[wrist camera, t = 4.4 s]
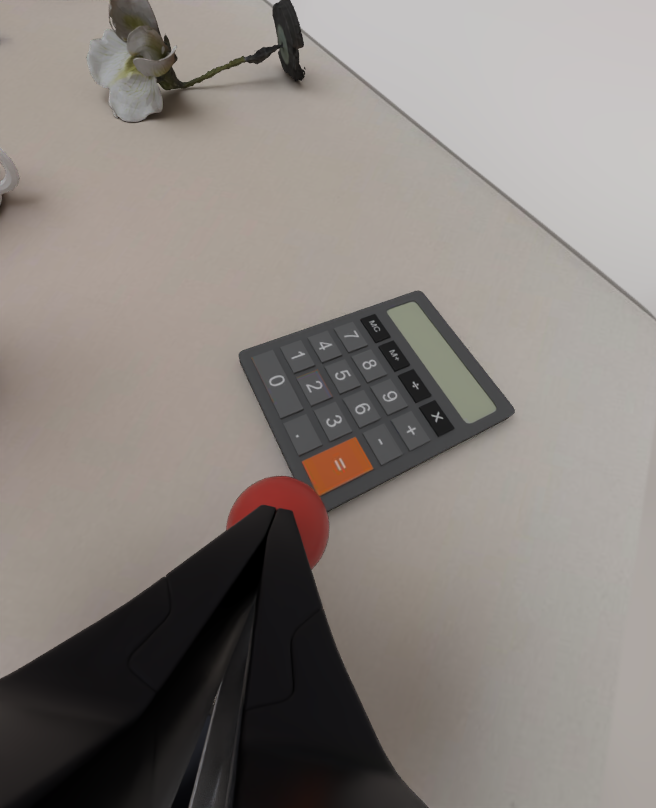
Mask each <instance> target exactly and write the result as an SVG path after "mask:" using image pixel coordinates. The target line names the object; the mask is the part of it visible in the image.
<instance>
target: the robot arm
mask: <svg viewBox="0 0 656 808" xmlns="http://www.w3.org/2000/svg"><path fill="white" fill-rule="evenodd" d="M257 590H258V591H257ZM256 594H257V597H256ZM255 597H256V603H255V609H254V616H253V622H252V629H251V636H250V642H249V649H248V656H247V662H246V669H245V676H244V682H243V689H242V696H241V703H240V709H239V716H238V723H237V729H236V736H235V743H234V749H233V756H232V763H231V769H230V776H229V783H228V790H227V796H226V803H225V808H428V807H427V805H426V804H425V803H424V802H423V801H422V800H421V799H420V798H419V797H418V796H417V795H416V794H415V793H414V792H413V791H412V790H411V789H410V788H409V787H408V786H407V785H406V783H405V782H404V781H403V780H402V779H401V777H400V776H399V775H398V773H397V772H396V771H395V769H394V767H393V766H392V764H391V763H390V761H389V760H388V758H387V756H386V754H385V752H384V751H383V749H382V747H381V744H380V742H379V740H378V738H377V736H376V734H375V732H374V730H373V727H372V725H371V723H370V721H369V719H368V716H367V714H366V712H365V710H364V708H363V706H362V703H361V701H360V699H359V697H358V695H357V692H356V690H355V688H354V686H353V684H352V682H351V679H350V677H349V675H348V673H347V671H346V668H345V666H344V663H343V661H342V659H341V656H340V654H339V652H338V649H337V647H336V644H335V642H334V639H333V636H332V633H331V630H330V627H329V624H328V621H327V618H326V615H325V612H324V609H323V606H322V603H321V599H320V596H319V593H318V590H317V587H316V583H315V580H314V577H313V574H312V571H311V567H310V564H309V561H308V558H307V555H306V551H305V548H304V545H303V542H302V539H301V535H300V532H299V529H298V526H297V523H296V519H295V516H294V513H293V511H292V510H288V509H283V508H278V509H276V507H273V506H269V505H260V506H259V507H258V508H256V509H255V510H254V511H252V512H251V513H249V514H248V515H247V516H245V517H244V518H243V519H241V520H240V521H239V522H237V523H236V524H235V525H233V526H232V527H230V528H229V529H228V530H226V531H225V532H224V533H222V534H221V535H220V536H218V537H217V538H216V539H214V540H213V541H211V542H210V543H209V544H207V545H206V546H205V547H203V548H202V549H201V550H199V551H198V552H197V553H195V554H194V555H192V556H191V557H190V558H188V559H187V560H186V561H184V562H183V563H182V564H180V565H179V566H178V567H176V568H175V569H173V570H172V571H171V572H169V573H168V574H167V575H166V577H162V578H161V579H160V580H158V581H157V582H156V583H154V584H153V585H152V586H150V587H149V588H147V589H146V590H144V591H143V592H142V593H140V594H139V595H137V596H136V597H134V598H133V599H132V600H130V601H129V602H127V603H126V604H124V605H123V606H121V607H119V608H118V609H116V610H115V611H113V612H112V613H110V614H108V615H107V616H105V617H104V618H102V619H101V620H99V621H97V622H96V623H94V624H92V625H91V626H89V627H87V628H86V629H84V630H82V631H81V632H79V633H78V634H76V635H74V636H73V637H71V638H69V639H68V640H66V641H64V642H63V643H61V644H59V645H58V646H56V647H54V648H53V649H51V650H50V651H48V652H46V653H45V654H43V655H41V656H40V657H38V658H36V659H35V660H33V661H31V662H30V663H28V664H26V665H25V666H23V667H21V668H19V669H18V670H16V671H14V672H12V673H11V674H9V675H7V676H5V677H3V678H1V679H0V808H171V806H172V803H173V801H174V798H175V796H176V793H177V791H178V788H179V786H180V783H181V781H182V778H183V776H184V774H185V771H186V769H187V766H188V764H189V761H190V759H191V756H192V754H193V751H194V749H195V746H196V744H197V741H198V739H199V736H200V734H201V731H202V729H203V726H204V724H205V721H206V719H207V716H208V714H209V712H210V709H211V707H212V704H213V702H214V699H215V697H216V694H217V692H218V689H219V687H220V684H221V682H222V679H223V677H224V674H225V672H226V669H227V667H228V664H229V662H230V659H231V657H232V654H233V652H234V650H235V647H236V645H237V642H238V640H239V637H240V635H241V632H242V630H243V627H244V625H245V622H246V620H247V617H248V615H249V612H250V610H251V607H252V605H253V602H254V599H255Z"/></svg>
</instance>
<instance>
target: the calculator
mask: <svg viewBox="0 0 656 808" xmlns="http://www.w3.org/2000/svg"><path fill="white" fill-rule="evenodd" d="M239 359H240V363H241V366H242V368H243V370H244V372H245V374H246V376H247V379H248V381H249V383H250V385H251V387H252V389H253V391H254V394H255V396H256V398H257V400H258V402H259V404H260V406H261V409H262V411H263V413H264V415H265V417H266V419H267V421H268V424H269V426H270V428H271V430H272V432H273V434H274V436H275V439H276V441H277V443H278V445H279V447H280V449H281V451H282V454H283V456H284V458H285V460H286V462H287V464H288V466H289V469H290V471H291V473H292V475H293V477H294V478H296V479H298V480H301V481H303V482H304V483H306V484H308V485H309V486H310V487H312V488H313V489H314V490H315V491H316V492H317V494H318V495H319V496H320V498H321V499H322V501H323V503H324V505H325V507H326V510H327V512H328V511H330V510H332V509H334V508H336V507H338V506H340V505H342V504H344V503H346V502H348V501H349V500H351V499H353V498H355V497H357V496H359V495H361V494H363V493H365V492H367V491H369V490H371V489H373V488H375V487H376V486H378V485H380V484H382V483H384V482H386V481H388V480H390V479H392V478H394V477H396V476H398V475H400V474H402V473H403V472H405V471H407V470H409V469H411V468H413V467H415V466H417V465H419V464H421V463H423V462H425V461H427V460H429V459H430V458H432V457H434V456H436V455H438V454H440V453H442V452H444V451H446V450H448V449H450V448H452V447H454V446H456V445H457V444H459V443H461V442H463V441H465V440H467V439H469V438H471V437H473V436H475V435H477V434H479V433H481V432H483V431H484V430H486V429H488V428H490V427H492V426H494V425H496V424H498V423H500V422H502V421H504V420H506V419H507V418H509V417H510V416H511V415H513V414H514V413H515V410H514V408H513V406H512V405H511V404H510V402H509V401H508V400H507V398H506V397H505V396H504V395H503V393H502V392H501V391H500V390H499V388H498V387H497V386H496V385H495V383H494V382H493V381H492V379H491V378H490V377H489V376H488V374H487V373H486V372H485V371H484V369H483V368H482V367H481V366H480V364H479V363H478V362H477V360H476V359H475V358H474V357H473V355H472V354H471V353H470V352H469V350H468V349H467V348H466V347H465V345H464V344H463V343H462V341H461V340H460V339H459V338H458V336H457V335H456V334H455V333H454V331H453V330H452V329H451V328H450V326H449V325H448V324H447V322H446V321H445V320H444V319H443V317H442V316H441V315H440V314H439V312H438V311H437V310H436V309H435V307H434V306H433V305H432V303H431V302H430V301H429V300H428V298H427V297H426V296H425V295H424V293H423V292H421V291H414V292H411V293H408V294H405V295H403V296H400V297H397V298H394V299H391V300H388V301H385V302H382V303H379V304H376V305H374V306H371V307H368V308H365V309H362V310H359V311H356V312H353V313H350V314H347V315H344V316H342V317H339V318H336V319H333V320H330V321H327V322H324V323H321V324H318V325H315V326H313V327H310V328H307V329H304V330H301V331H298V332H295V333H292V334H289V335H286V336H284V337H281V338H278V339H275V340H272V341H269V342H266V343H263V344H260V345H257V346H254V347H252V348H249V349H246V350H243V351H241V352H240V353H239Z"/></svg>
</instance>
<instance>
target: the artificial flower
mask: <svg viewBox="0 0 656 808" xmlns="http://www.w3.org/2000/svg"><path fill="white" fill-rule="evenodd" d="M110 17H111V18H112V22H113V25H114V27H115V28H116V30H114V29H113V27H112V25H111V22H110ZM273 19H274V22H275V27H276V33H277V37H278V45H274V46H273V47H266V48H265V47H263V48H261V49H260V50H258V51H257V52H256V53H255V54H254V55H252V56H251V55H250V56H248V57H244V56H242V57H241V58H238V59H234V60H233V61H230V62H229V64H226V65H224V66H220V67H216V69H212V70H211V71H208V72H207V73H206V74H205V75H202V76H201V77H199V78H196V79H193V80H191V81H189V82H181V81H179V80H178V79H177V77H176V75H175V72H174V70H173V68H172V65H173V64H174V63H175V62H176V61H177V56H176V55H175V50H176V48H177V45H175V46H174V48H173V50H172V51H171V47H170V43H169V39H168V38H167V36H166V34H165V36H164V41H163V39H162V37H161V35H160V31H159V28H158V24H157V21H156V18H155V15H154V13H153V10H152V8H151V6H150V4H149V2H148V0H110V1H109V23H110V25H111V27H112V29H106V30H105V31H104V35H103V37H102V39H94V40H91V41H90V47H89V53H88V55H87V57H86V58H87V63H88V67H89V70H90V73H91V76H92V78H93V79H94V81H95V82H96V83H97V84H98V85H100V86H102V87H104V88H109V90H110V92H109V105H110V107H111V108H112V110H113V111H114V112H113V115H114V116H115V117H116V118H118V117H120V118H121V119H122V120H123V121H126V122H138V121H141V120H143V119H145V118H146V117H147V116H148V115H149V114H153V113H160V112H161V111H162V108H163V100H162V95H161V93H160V89H159V87H158V84H157V83H159V84H160V85H161V87H162V88H163V89H165V90H171V89H178V88H187V87H190V86H193V85H194V84H196V83H200V82H202V81H203V80H205V79H208V78H211V77H212V76H214V75H215V74H217V73H219V72H221V71H222V70H225V69H229V68H231V67H234V66H237V65H239V64H241V63H242V62H243V63H244V62H248V63H255V64H258V63H260V62H262V61H264V60H265V59H266V58H268V57H269V56H270V55H271V53H273V52H275V51H276V50H277V49H279V48H280V50H279V52H278V54H279V58H280V61H281V64H282V67H283V70H284V71H285V72H286V73H289V75H290V76H291V77H292V78H293V79H294V80H295V81H296V80H300V81H302V79H304V75H305V71H304V70H302V69H301V67H300V64H299V50H297V49H299V48H302V47H303V46H304V42H303V37H302V34H301V29H300V27H299V26H300V24H299V22H298V18H297V15H296V12H295V10H294V7H293V5H292V3H291V1H290V0H281V1H280V2H279V3H276V4H274V6H273ZM304 69H305V67H304ZM303 72H304V74H303ZM115 114H116V115H117V116H118V117H117V116H116V115H115Z"/></svg>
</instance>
